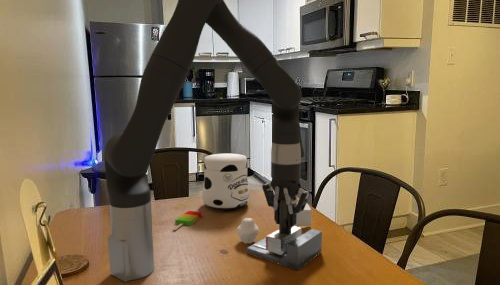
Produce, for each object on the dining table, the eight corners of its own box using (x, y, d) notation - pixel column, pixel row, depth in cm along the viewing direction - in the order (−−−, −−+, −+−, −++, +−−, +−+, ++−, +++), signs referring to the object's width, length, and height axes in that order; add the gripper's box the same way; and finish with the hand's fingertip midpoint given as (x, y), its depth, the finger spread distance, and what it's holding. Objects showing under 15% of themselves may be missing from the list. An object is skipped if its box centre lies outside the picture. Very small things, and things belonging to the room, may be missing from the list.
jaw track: (297, 270, 91) (298, 247, 90) (247, 253, 101) (247, 231, 100) (321, 253, 101) (321, 231, 100) (273, 238, 110) (273, 218, 109)
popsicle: (203, 217, 129) (202, 211, 129) (182, 234, 115) (181, 228, 115) (188, 215, 131) (188, 210, 130) (165, 232, 117) (165, 226, 116)
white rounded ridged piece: (246, 235, 113) (246, 212, 111) (263, 240, 109) (263, 217, 108) (232, 242, 108) (232, 218, 107) (249, 248, 104) (249, 223, 103)
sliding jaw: (280, 255, 95) (281, 205, 93) (265, 250, 98) (265, 201, 96) (301, 241, 103) (302, 195, 101) (286, 237, 106) (287, 192, 104)
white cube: (307, 221, 124) (307, 203, 123) (310, 228, 118) (311, 209, 117) (288, 221, 124) (288, 203, 123) (291, 228, 118) (292, 210, 117)
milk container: (249, 213, 131) (249, 162, 128) (199, 213, 131) (197, 162, 128) (250, 198, 148) (250, 152, 145) (205, 198, 148) (204, 152, 145)
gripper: (254, 159, 98) (255, 223, 101) (302, 166, 89) (301, 236, 92) (271, 154, 104) (271, 215, 107) (317, 161, 95) (316, 226, 98)
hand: (285, 224), depth 99 cm, fingers closed on sliding jaw, 3 cm apart
